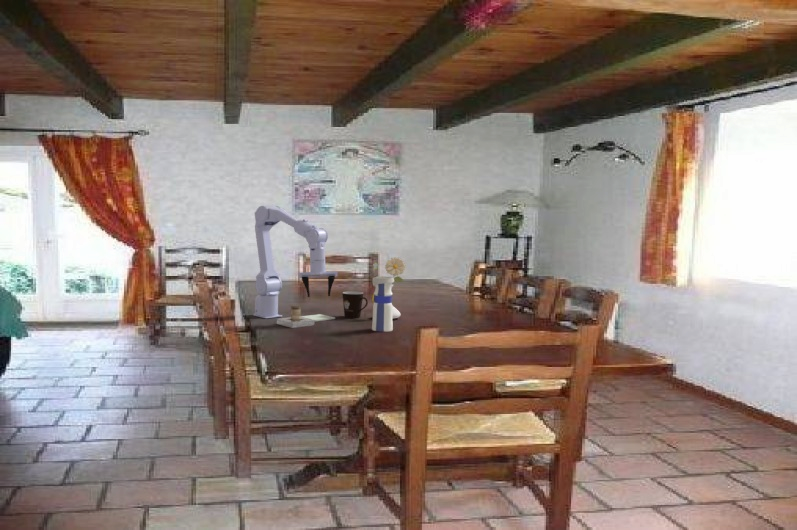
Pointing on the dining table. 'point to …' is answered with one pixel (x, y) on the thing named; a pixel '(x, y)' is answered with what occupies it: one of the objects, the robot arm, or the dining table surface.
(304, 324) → the square metal frame
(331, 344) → the dining table surface
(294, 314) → the tan two-tone cylinder
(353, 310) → the coffee mug
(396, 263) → the flower in vase
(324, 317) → the mat
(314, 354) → the dining table surface
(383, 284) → the water bottle
